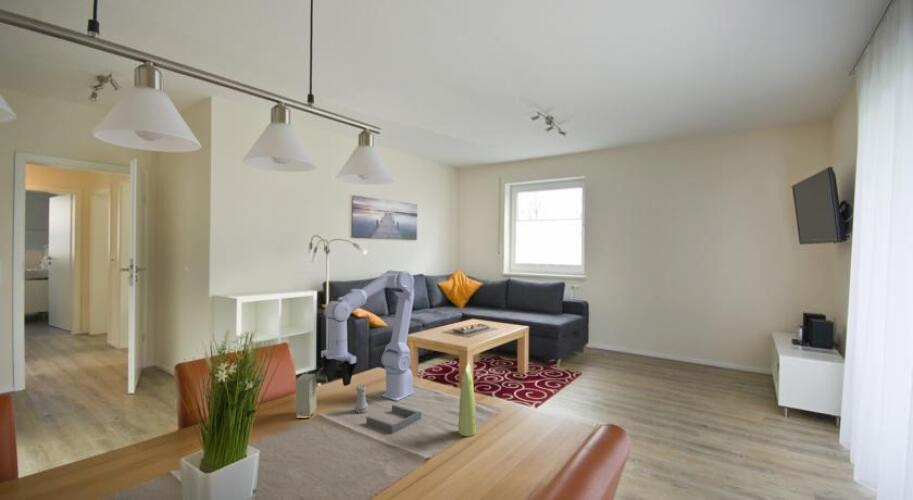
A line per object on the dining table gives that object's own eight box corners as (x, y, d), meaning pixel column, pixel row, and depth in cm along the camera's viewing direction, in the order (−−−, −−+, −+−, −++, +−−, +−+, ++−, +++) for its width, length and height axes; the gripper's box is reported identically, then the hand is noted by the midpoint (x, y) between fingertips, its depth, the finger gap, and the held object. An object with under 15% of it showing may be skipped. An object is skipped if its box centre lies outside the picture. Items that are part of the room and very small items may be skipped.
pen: (394, 410, 135) (394, 404, 135) (421, 418, 129) (421, 412, 129) (365, 424, 125) (365, 417, 125) (392, 433, 119) (392, 426, 119)
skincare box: (309, 419, 129) (309, 379, 129) (295, 419, 129) (294, 379, 129) (317, 410, 136) (316, 373, 135) (303, 410, 136) (302, 373, 135)
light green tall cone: (481, 434, 118) (480, 365, 117) (466, 439, 115) (465, 368, 114) (469, 427, 122) (468, 360, 122) (454, 431, 119) (454, 363, 119)
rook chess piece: (362, 407, 138) (362, 382, 138) (371, 410, 136) (371, 385, 135) (351, 411, 135) (351, 386, 135) (360, 414, 132) (360, 389, 132)
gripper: (312, 339, 133) (313, 382, 133) (342, 345, 125) (343, 390, 125) (330, 335, 139) (331, 376, 139) (361, 340, 130) (362, 384, 131)
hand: (338, 382), depth 132 cm, fingers open, 7 cm apart
